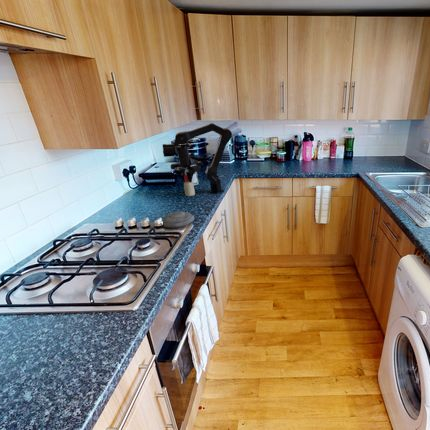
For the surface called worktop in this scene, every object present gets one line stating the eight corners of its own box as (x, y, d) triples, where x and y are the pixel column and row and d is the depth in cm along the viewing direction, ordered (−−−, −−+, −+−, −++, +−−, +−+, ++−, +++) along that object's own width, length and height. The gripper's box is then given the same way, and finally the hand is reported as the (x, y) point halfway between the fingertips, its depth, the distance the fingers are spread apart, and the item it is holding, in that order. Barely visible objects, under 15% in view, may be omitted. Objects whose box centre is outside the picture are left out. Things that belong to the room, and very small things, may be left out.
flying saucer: (156, 230, 128) (154, 219, 126) (167, 217, 142) (165, 207, 140) (191, 229, 129) (189, 218, 127) (197, 215, 143) (196, 205, 141)
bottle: (197, 194, 173) (194, 175, 168) (189, 196, 169) (186, 178, 164) (191, 192, 176) (188, 174, 171) (183, 194, 172) (180, 176, 167)
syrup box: (191, 186, 186) (188, 164, 181) (186, 184, 190) (182, 163, 184) (199, 184, 191) (195, 162, 185) (193, 182, 194) (190, 161, 188)
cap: (183, 180, 169) (182, 175, 167) (188, 179, 171) (188, 173, 170) (187, 182, 167) (186, 176, 165) (192, 180, 169) (191, 174, 168)
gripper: (205, 154, 165) (209, 180, 172) (182, 151, 173) (186, 176, 180) (191, 158, 156) (195, 185, 163) (167, 154, 165) (172, 180, 171)
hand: (187, 181), depth 169 cm, fingers open, 5 cm apart
